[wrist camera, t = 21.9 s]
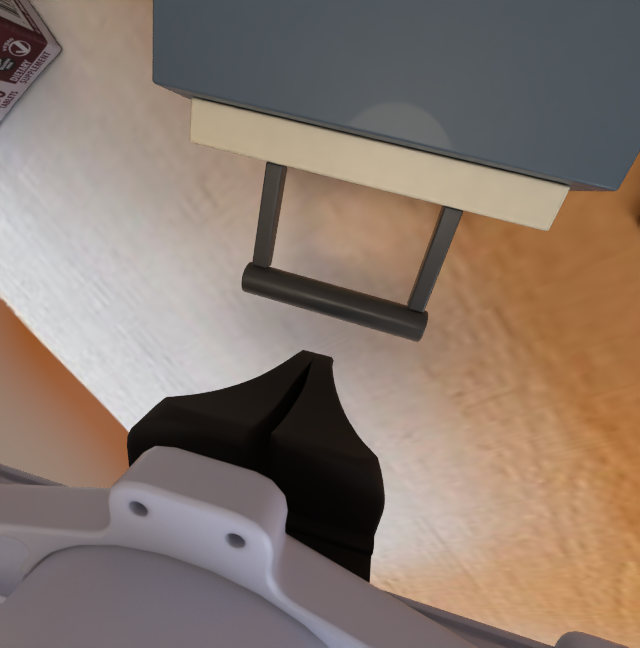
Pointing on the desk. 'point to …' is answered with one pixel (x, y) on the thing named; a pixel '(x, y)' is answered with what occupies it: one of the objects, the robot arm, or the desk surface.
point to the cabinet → (426, 75)
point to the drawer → (373, 171)
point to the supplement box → (21, 50)
